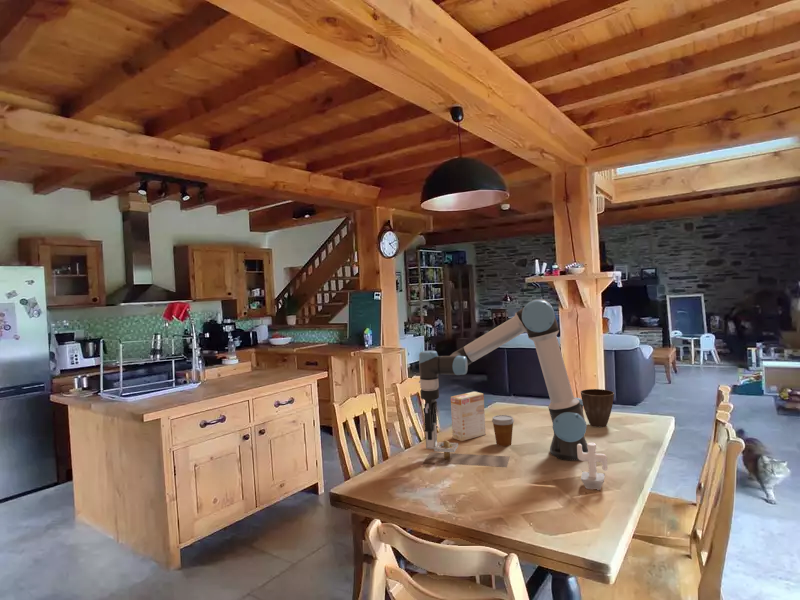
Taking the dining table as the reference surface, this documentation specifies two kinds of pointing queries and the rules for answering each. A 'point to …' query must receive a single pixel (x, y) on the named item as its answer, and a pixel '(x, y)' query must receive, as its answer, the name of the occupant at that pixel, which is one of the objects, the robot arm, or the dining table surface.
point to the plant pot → (597, 406)
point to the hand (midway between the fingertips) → (431, 445)
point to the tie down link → (440, 443)
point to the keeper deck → (466, 458)
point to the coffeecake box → (468, 416)
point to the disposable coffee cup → (503, 429)
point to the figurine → (592, 466)
